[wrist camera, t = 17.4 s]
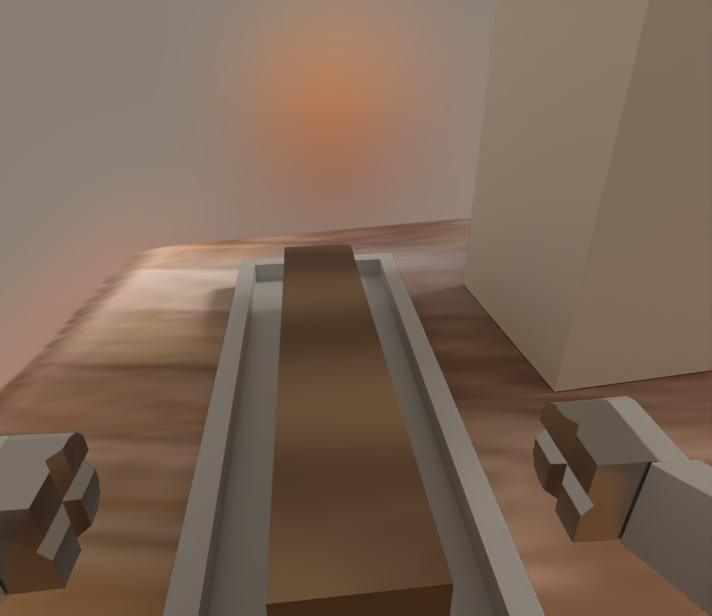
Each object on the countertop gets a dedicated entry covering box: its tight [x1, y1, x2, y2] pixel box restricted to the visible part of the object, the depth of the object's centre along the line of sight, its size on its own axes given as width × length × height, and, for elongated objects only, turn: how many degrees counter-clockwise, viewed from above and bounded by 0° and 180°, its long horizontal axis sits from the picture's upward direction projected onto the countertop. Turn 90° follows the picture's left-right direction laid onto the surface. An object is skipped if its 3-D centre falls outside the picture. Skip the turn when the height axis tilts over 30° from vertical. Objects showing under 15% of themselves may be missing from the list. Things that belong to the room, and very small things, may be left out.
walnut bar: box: [266, 245, 454, 616], centre depth 17 cm, size 18×3×3 cm, turn 6°
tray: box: [163, 253, 545, 616], centre depth 20 cm, size 22×9×2 cm, turn 6°
